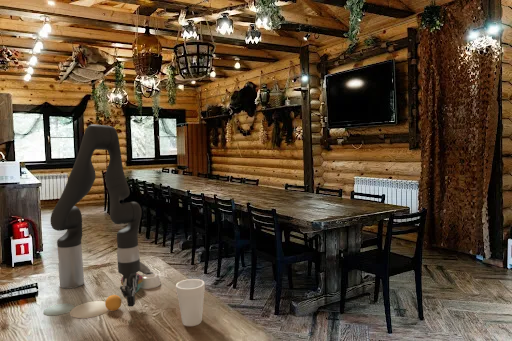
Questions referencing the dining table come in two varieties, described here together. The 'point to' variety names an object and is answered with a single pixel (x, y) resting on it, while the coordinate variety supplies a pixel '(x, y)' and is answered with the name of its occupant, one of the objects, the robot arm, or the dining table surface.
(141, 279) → the cupcake
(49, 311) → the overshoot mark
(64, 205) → the robot arm
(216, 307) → the dining table surface
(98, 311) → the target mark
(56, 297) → the dining table surface
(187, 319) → the foam cup
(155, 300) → the dining table surface
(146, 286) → the inkwell
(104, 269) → the dining table surface
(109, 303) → the ball
